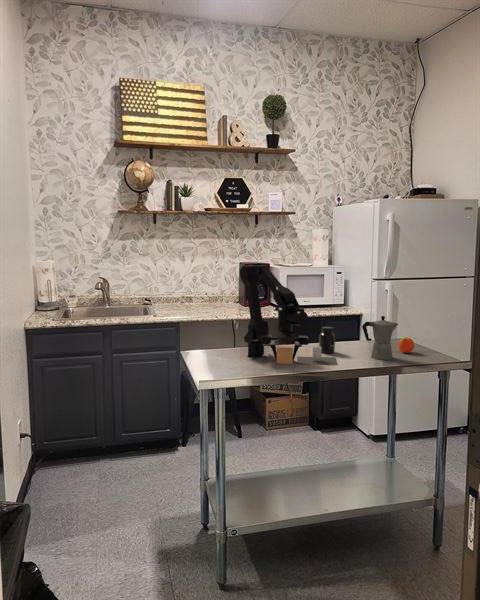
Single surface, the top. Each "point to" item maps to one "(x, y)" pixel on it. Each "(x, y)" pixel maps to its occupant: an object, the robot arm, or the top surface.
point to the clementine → (406, 345)
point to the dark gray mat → (310, 362)
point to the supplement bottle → (327, 340)
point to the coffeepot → (381, 338)
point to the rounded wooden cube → (284, 354)
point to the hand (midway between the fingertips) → (284, 360)
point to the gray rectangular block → (317, 353)
